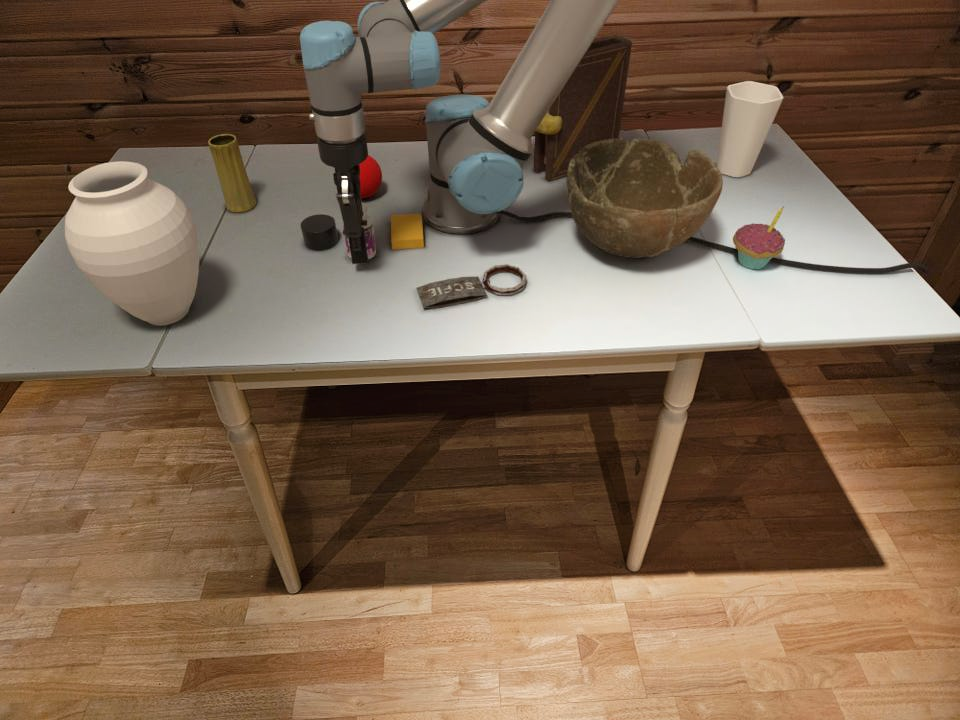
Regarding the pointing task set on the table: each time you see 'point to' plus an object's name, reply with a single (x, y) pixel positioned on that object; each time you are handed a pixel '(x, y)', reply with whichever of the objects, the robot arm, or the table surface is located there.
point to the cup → (746, 125)
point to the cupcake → (758, 243)
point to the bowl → (640, 195)
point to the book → (584, 107)
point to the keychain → (466, 288)
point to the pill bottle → (368, 234)
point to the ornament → (369, 177)
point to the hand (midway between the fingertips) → (360, 261)
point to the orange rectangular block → (407, 231)
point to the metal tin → (319, 232)
